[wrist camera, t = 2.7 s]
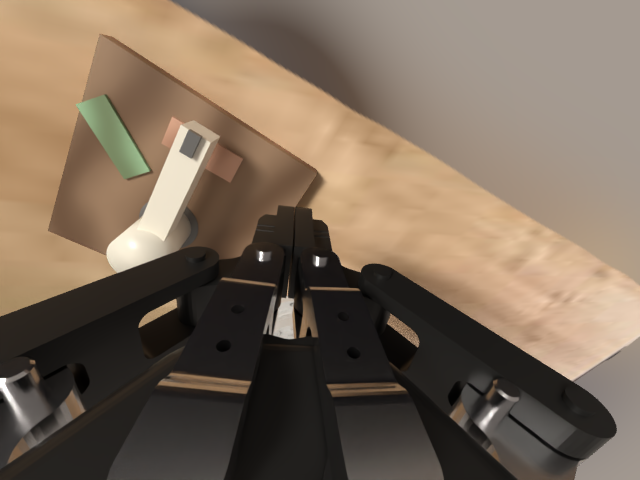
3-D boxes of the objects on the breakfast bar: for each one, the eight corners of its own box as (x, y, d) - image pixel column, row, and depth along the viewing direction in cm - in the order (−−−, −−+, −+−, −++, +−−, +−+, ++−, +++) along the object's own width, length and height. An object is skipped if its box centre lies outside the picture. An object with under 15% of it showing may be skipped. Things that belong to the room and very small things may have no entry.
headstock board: (316, 169, 26) (317, 175, 25) (231, 298, 33) (227, 309, 32) (110, 35, 21) (94, 31, 19) (58, 222, 28) (43, 231, 26)
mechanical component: (304, 360, 40) (352, 317, 36) (304, 390, 36) (358, 345, 32) (242, 329, 36) (289, 278, 33) (235, 359, 32) (287, 305, 29)
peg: (239, 137, 23) (221, 153, 18) (181, 250, 28) (153, 289, 23) (192, 107, 22) (157, 115, 17) (139, 231, 27) (100, 267, 21)
